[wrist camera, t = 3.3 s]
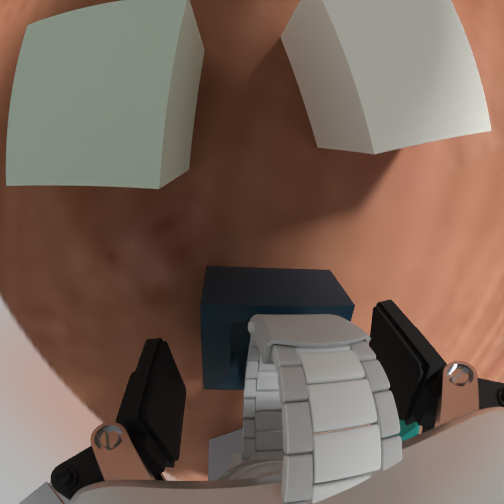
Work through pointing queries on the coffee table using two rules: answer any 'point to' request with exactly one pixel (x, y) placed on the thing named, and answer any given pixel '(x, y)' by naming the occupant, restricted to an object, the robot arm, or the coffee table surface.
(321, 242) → the coffee table surface
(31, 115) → the sage cube
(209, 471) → the slate cube
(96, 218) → the coffee table surface
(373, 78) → the cream cube
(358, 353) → the watch
